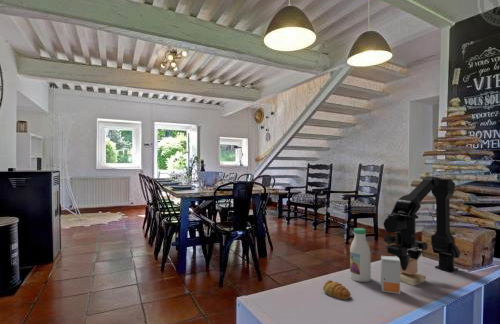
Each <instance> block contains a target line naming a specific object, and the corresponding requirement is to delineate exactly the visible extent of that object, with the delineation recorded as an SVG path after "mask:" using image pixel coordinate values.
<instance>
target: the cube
mask: <svg viewBox="0 0 500 324" xmlns="http://www.w3.org/2000/svg"><path fill="white" fill-rule="evenodd" d="M400 272H403V273H406V274H409V275H412V274H415V273H418V260H416V259H412V258H409V262H408V265H407V268H406V270H405V271H404V270H402V267H401V265H400Z"/></svg>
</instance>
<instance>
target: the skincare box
mask: <svg viewBox="0 0 500 324" xmlns="http://www.w3.org/2000/svg"><path fill="white" fill-rule="evenodd" d="M380 289H381V292H382V293H383V292H384V293H388V294H389V293H391V294H396V295H400V294H401V281H400V259H399V257H397V256H392V255H391V256H390V255H389V256H388V255H380Z"/></svg>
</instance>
